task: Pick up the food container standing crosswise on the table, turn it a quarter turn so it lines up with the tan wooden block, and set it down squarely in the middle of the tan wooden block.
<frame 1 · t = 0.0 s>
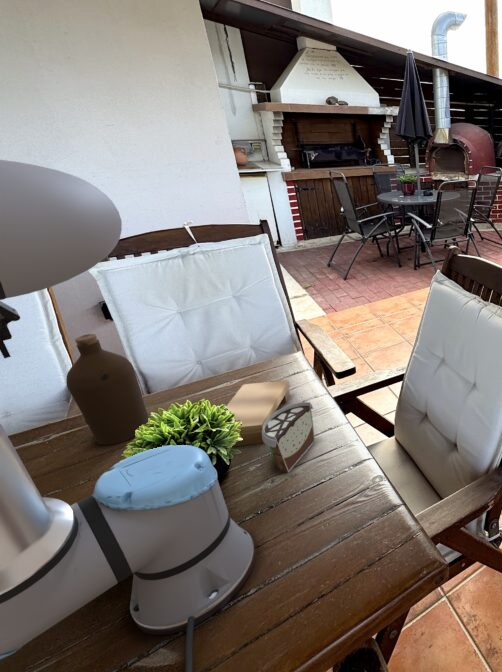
olive oil: (124, 431, 94), on the table
food container: (289, 455, 87), on the table
tan wooden block: (256, 419, 98), on the table
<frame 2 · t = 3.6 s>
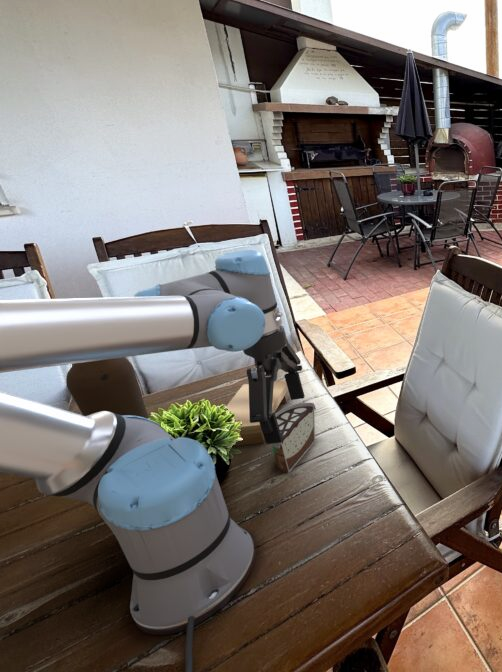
hand: (287, 419, 84), 9 cm above the table, tool pointing down, fingers open, 13 cm apart
food container: (289, 454, 87), on the table, touching gripper
everything else where it was.
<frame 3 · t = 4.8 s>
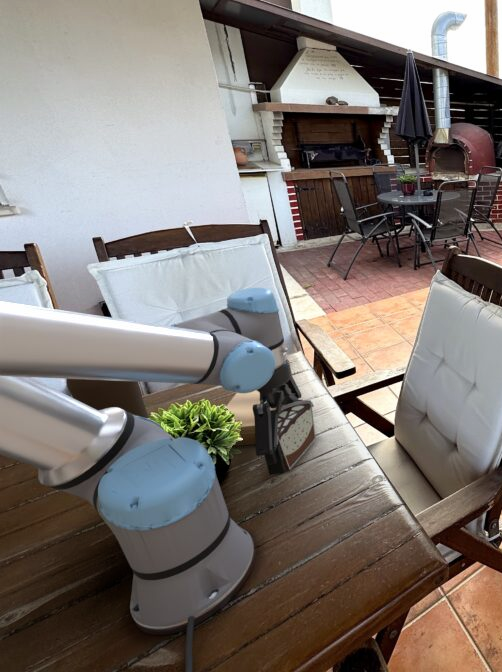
hand: (288, 450, 87), 1 cm above the table, tool pointing down, fingers closed on food container, 12 cm apart
food container: (290, 453, 88), on the table, touching gripper
everything else where it was.
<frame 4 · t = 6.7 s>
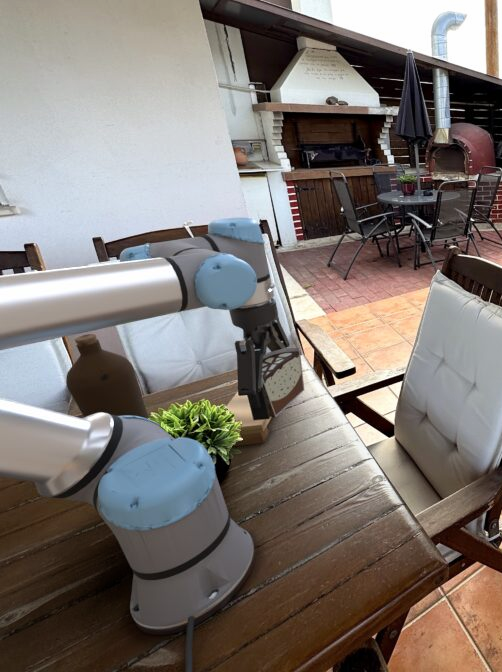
hand: (274, 399, 82), 15 cm above the table, tool pointing down, fingers closed on food container, 12 cm apart
food container: (277, 402, 83), point 13 cm above the table, touching gripper
everything else where it was.
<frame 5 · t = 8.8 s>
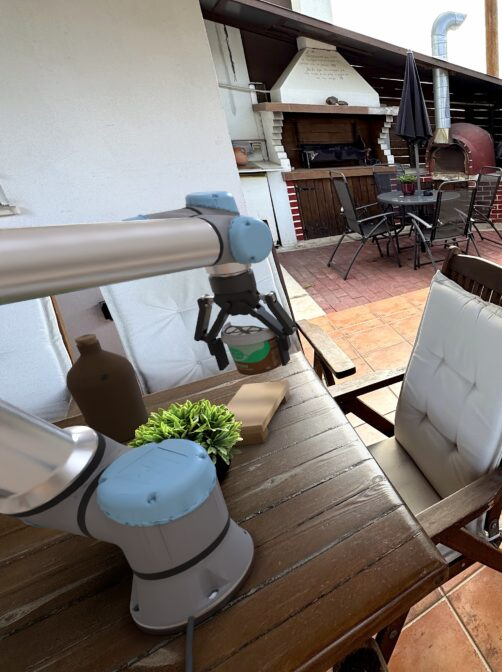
hand: (255, 365, 87), 19 cm above the table, tool pointing down, fingers closed on food container, 12 cm apart
food container: (252, 371, 87), point 17 cm above the table, touching gripper
everything else where it was.
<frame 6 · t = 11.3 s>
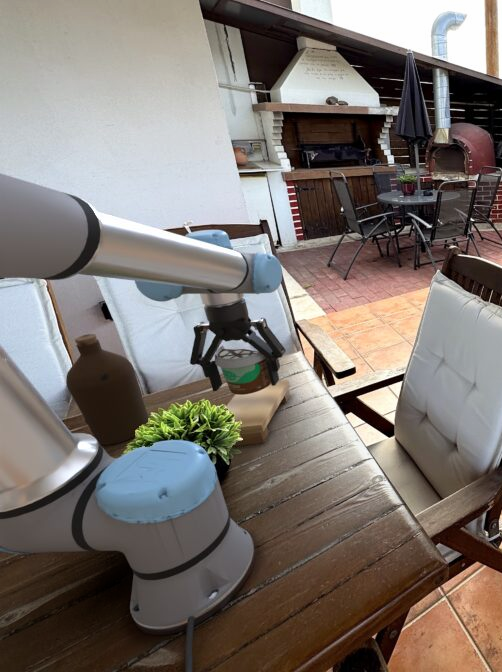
hand: (247, 385, 95), 10 cm above the table, tool pointing down, fingers closed on food container, 12 cm apart
food container: (244, 390, 95), point 9 cm above the table, touching gripper
everything else where it was.
when the fingers open (6 cm above the table, at t = 13.0 s): food container stays where it is, resting on tan wooden block.
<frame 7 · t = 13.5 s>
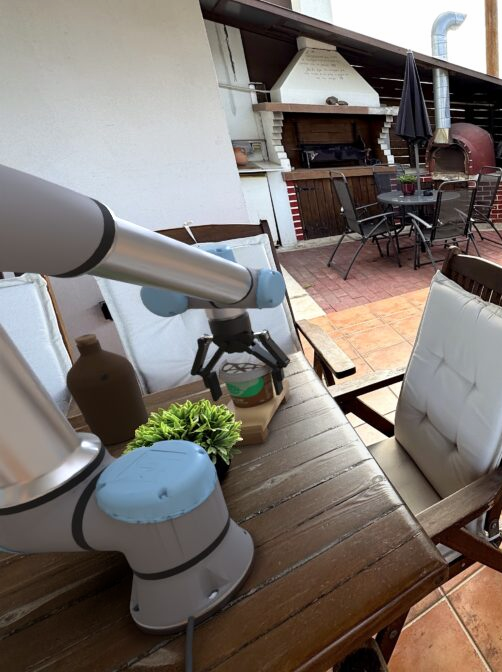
hand: (249, 395, 96), 7 cm above the table, tool pointing down, fingers open, 13 cm apart
food container: (247, 403, 96), point 5 cm above the table, touching tan wooden block
everything else where it was.
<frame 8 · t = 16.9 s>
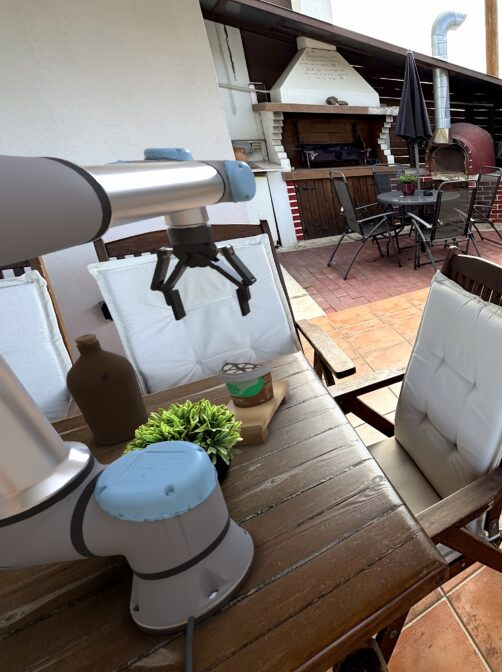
hand: (214, 316, 92), 27 cm above the table, tool pointing down, fingers open, 13 cm apart
nothing on the table moved.
at the end: food container 0.9 cm off-centre on the tan wooden block, point 4.8 cm above the tan wooden block's base; food container tilted 0°; the gripper is holding nothing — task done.
